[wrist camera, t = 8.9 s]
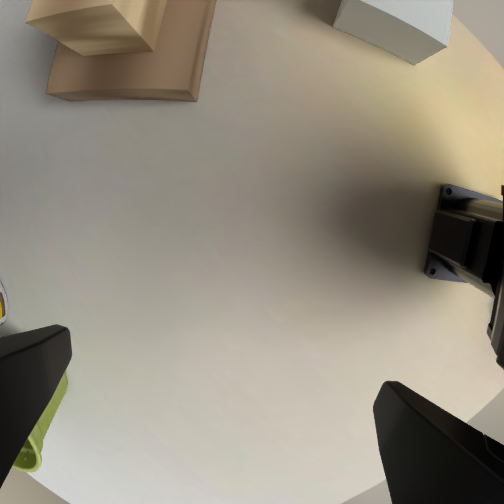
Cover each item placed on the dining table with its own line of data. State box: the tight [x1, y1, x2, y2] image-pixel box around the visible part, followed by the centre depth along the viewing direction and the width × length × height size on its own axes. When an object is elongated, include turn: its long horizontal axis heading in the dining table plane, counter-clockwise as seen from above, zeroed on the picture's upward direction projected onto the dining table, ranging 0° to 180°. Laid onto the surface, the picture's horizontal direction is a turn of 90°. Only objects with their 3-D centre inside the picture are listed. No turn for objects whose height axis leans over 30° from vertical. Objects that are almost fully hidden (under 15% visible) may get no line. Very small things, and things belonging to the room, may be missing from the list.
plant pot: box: [12, 372, 68, 472], centre depth 18 cm, size 9×9×9 cm
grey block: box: [333, 0, 453, 66], centre depth 14 cm, size 4×4×6 cm
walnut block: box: [46, 0, 216, 102], centre depth 15 cm, size 9×9×3 cm
